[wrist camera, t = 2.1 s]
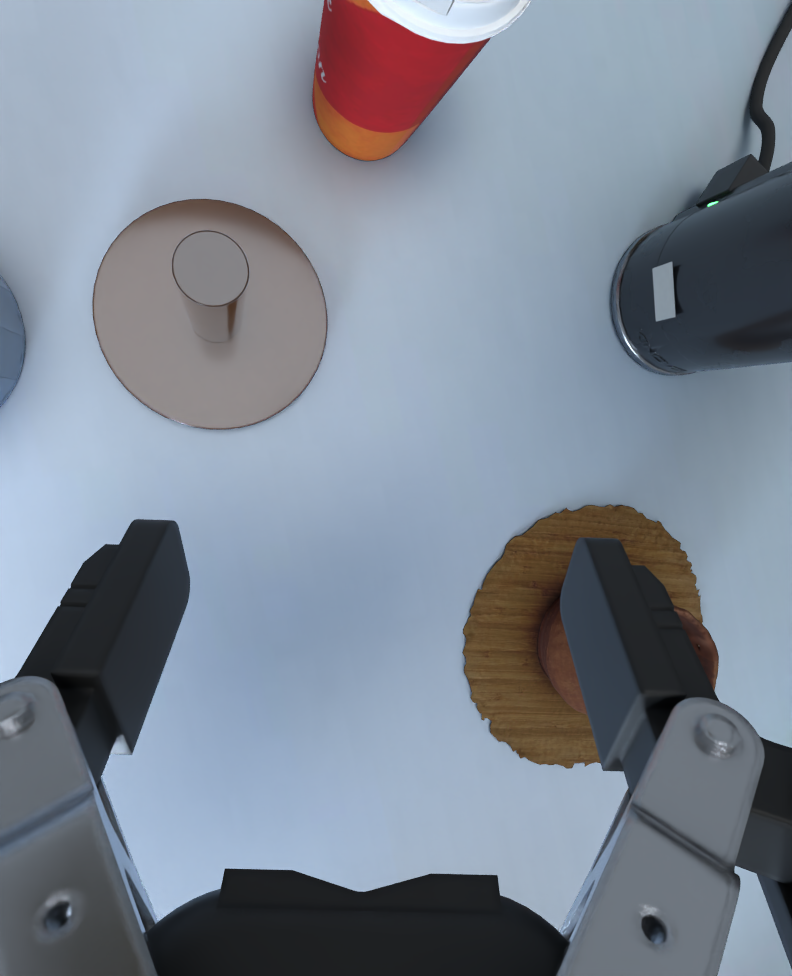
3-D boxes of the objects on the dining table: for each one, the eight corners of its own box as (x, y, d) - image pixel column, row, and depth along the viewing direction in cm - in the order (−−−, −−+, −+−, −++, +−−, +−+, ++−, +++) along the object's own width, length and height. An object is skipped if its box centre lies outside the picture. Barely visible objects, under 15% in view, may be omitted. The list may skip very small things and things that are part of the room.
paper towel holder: (180, 158, 31) (156, 15, 20) (363, 299, 34) (427, 242, 23) (49, 343, 30) (-51, 299, 19) (249, 470, 33) (260, 493, 22)
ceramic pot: (573, 447, 38) (648, 452, 32) (743, 596, 43) (839, 629, 36) (407, 684, 37) (448, 742, 30) (602, 810, 42) (674, 885, 35)
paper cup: (373, 0, 32) (478, -300, 19) (457, 131, 34) (605, -57, 21) (258, 81, 31) (282, -177, 18) (351, 212, 33) (436, 68, 20)
